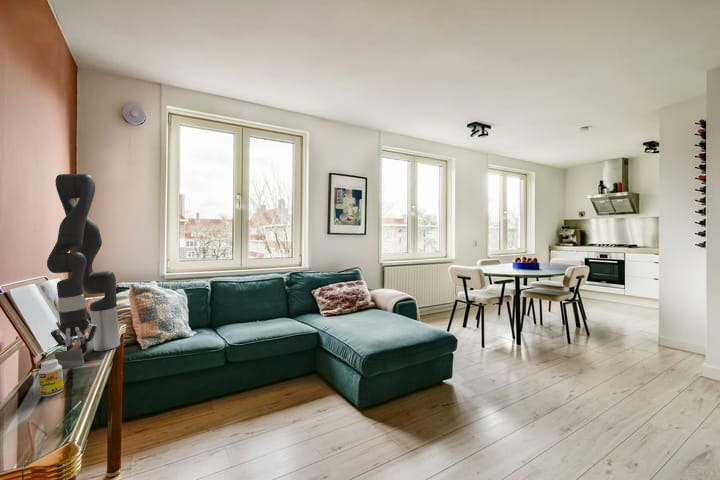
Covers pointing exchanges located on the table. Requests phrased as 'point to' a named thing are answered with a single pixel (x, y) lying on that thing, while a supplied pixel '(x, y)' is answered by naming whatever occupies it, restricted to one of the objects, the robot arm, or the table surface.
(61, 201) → the robot arm
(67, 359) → the grey brown rectangular block
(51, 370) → the supplement bottle
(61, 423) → the table surface
